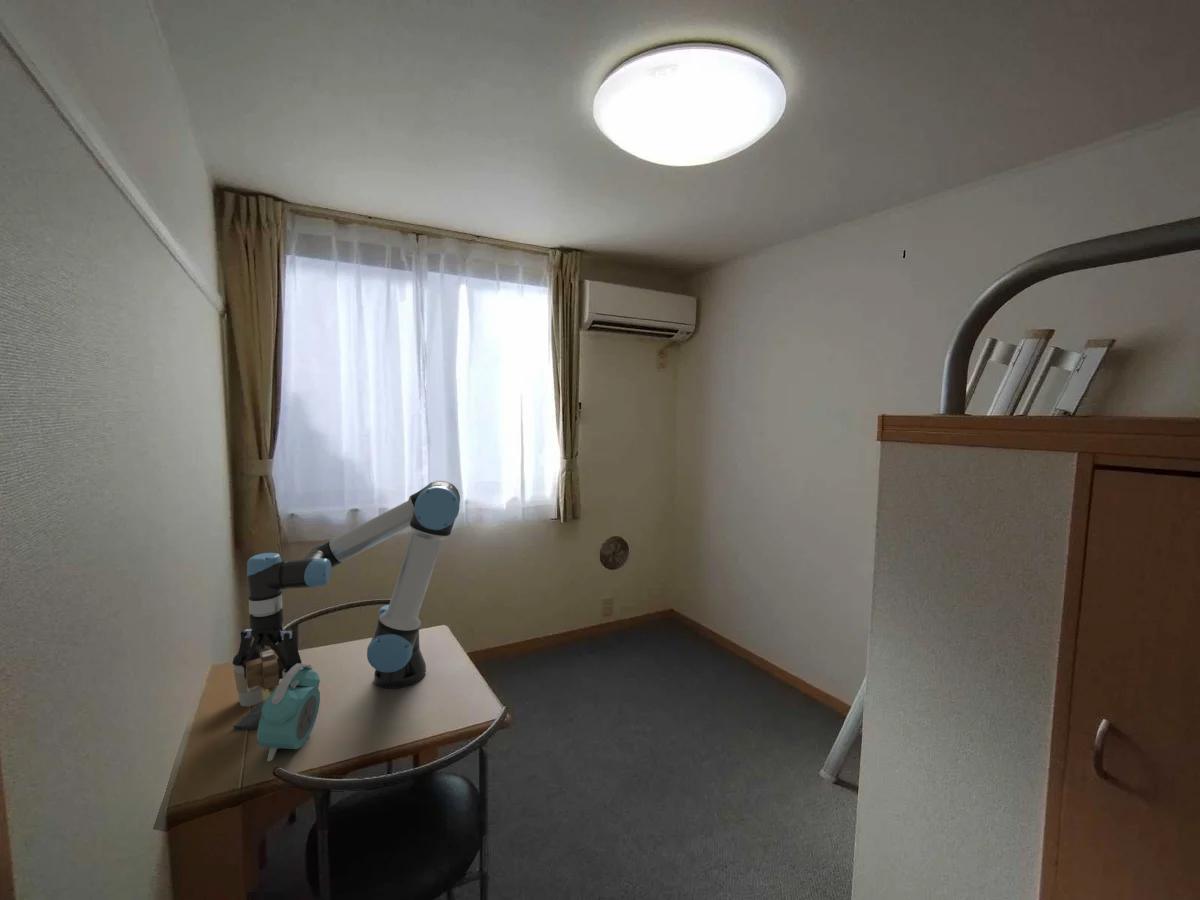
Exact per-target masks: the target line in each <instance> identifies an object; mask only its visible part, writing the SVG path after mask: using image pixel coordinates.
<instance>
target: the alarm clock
mask: <svg viewBox="0 0 1200 900" xmlns="http://www.w3.org/2000/svg"><path fill="white" fill-rule="evenodd" d="M320 682H321V679H320V676H319V673H318V671H315V670H313V667H312V664H307V663H301V664H298V663H297V664H296V665H294V666H293V667H292V668H291V669H290V670H289V671H288V672H287V673H286V675H285V676H284V678H283V679H281V681H279V685H278V688H276V689H275V691H274V692H273V693H272V695H270V696H269V697H268V698H267V699H266V701H265V703H264V705H263V707H262V709H261V711H262V715H261V718H260V721H259V726H258V730H257V731H256V734H257V735H256V739H257V743H258V745H259V747H260V748H269V750H268V755H267V758H266V762H269V761H273V759H275V757H276V754H277V752H278V749H289V750H298V749H300V748H301V747H303V746H304V745H305V744H306V742H307V740H308V739H309V737H310V735H311V733H312V731H313V729H314V727H315V723H316V720H317V717H318V715H319V714H318V713H319V708H320V704H321V703H320V702H321V692H320V690H319V687H320Z"/></svg>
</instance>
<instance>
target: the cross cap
mask: <svg viewBox="0 0 1200 900" xmlns="http://www.w3.org/2000/svg"><path fill="white" fill-rule="evenodd" d="M283 670H285V668H284V666H283V665H282V663H281V661H280V659H279V658H278V656H277V654H276V653H275V651H274V650H272V649H269V650H268V651H264V652H261V653H260V658H259V659H255V660H251V661H248V662H246V676H247V686H248V688H252V687H255V686H258V685H260V686H261V687H263V688H265V689H268V688H272V687H275V686H279V684H280V682H281V681H280V680H282V679H283V675H282V671H283Z"/></svg>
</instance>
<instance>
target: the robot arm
mask: <svg viewBox="0 0 1200 900" xmlns="http://www.w3.org/2000/svg"><path fill="white" fill-rule="evenodd" d="M460 503H461V496H460V492H459V489H457V487H456V486H455V485H454V484H452V482H448V481H446V480H435V481H432V482H430V483H428V484H427V485H425V486H424V487H423V488H421V489H420V490H419V491H417V492H415V493H413V494H411V495H410V496H409V497H408V499H407V500H406V501H404V502H403V503H400V504H398V505H396V506H395V507H393V508H391V509H389V510H387V511H385V512H383V513H382V514H379V515H377V516H376V517H374V518H371V519H370V520H368V521H365V522H364V523H362V524H360V525H358V526H356V527H354V528H352V529H350V530H348V531H346V532H345V533H343V534H340V535H338V536H336V537H334V538H332V539H331V540H330V541H327V542H325V543H322V544H319V545H317V546H315V547H313V548H312V549H311V550H310V551H309V552H308V553H306V554H305V556H303V557H302V558H301V559H295V560H293V559H292V560H282V558H281V555H280V554H279V553H277V552H264V553H259V554H256V555H253V556H251V557H249V559H248V560H247V562H246V563H247V567H246V570H247V571H246V578H247V591H248V613H249V614H250V615H249V627H247V628H246V629H244V630H242V631H240V643H239V648H238V652H239V653H238V652H237V654H238V657H237V662H236V665H237V666H240V665H241V666H242V667H243V668H244V677H245V679H247V676H246V662H248V661H251V660H255V659H256V657H257V655H258V653H259V651H260V649H261V647H262V646H265V647H270V650H274V653H275V654H277V656H278V658H279V659H280V661H281V663H282V665H283V666H284V668H285V670H283V671H282V675H283V678H284V676H285V675H286V673H287V672H288V671H289V670H290V669H291V668H292V667H293V666H294V665H296V664H297V663H298V664H303V662H302V659H301V655H300V653H299V650H298V646H297V643H296V640H295V631H294V629H290V630H284V629H283V623H284V609H282V608H283V590H287V589H301V588H302V589H303V588H305V589H306V588H316V587H323V586H327V585H328V584H329V583H330V581H331V578H332V572H333V571H332V569H333V568H335V567H337V566H338V565H340V564H342V563H344V562H345V561H347V560H349V559H351V558H353V557H355V556H357V555H359V554H361V553H363V552H365V551H367V550H368V549H371V548H373V547H375V546H377V545H379V544H380V543H382V542H384V541H386V540H388V539H391V538H392V537H394V536H395V535H398V534H399V533H401V532H403V531H405V530H407V529H409V528H410V529H411V530H412V533H411V537H410V539H409V543H408V546H407V550H406V552H405V555H404V559H403V562H402V564H401V568H400V570H399V574H398V577H397V580H396V583H395V586H394V589H393V592H392V595H391V598H390V601H389V604H386V605H383V606H381V607H380V608H379V610H378V614H377V617H378V620H377V623H376V625H375V628H374V632H373V635H372V638H371V641H370V642H369V644H368V646H367V649H366V657H367V662H368V664H369V665H370V666H371V667H372V669H374V676H373V677H374V684H375V685H376V686H378V687H380V688H383V689H400V688H405V687H408V686H411V685H413V684H416V683H417V682H419V681H420V680H422V679H423V678H424V677H425V675H426V674H425V672H426V673H427V665H426V661H425V659H424V656H423V654H422V651H421V649H420V629H421V625H422V622H421V620H420V618H419V615H420V610H421V607H422V604H423V602H424V598H425V595H426V592H427V590H428V586H429V583H430V581H431V577H432V575H433V571H434V568H435V566H436V561H437V559H438V556H439V552H440V550H441V547H442V544H443V540H444V539H447V538H448V537H450V535H451V533H452V530H453V527H454V524H455V521H456V519H457V518H458V515H459V512H460ZM252 640H253V641H252ZM250 647H252V648H251V650H250ZM249 650H250V652H249ZM424 674H425V675H424ZM423 676H424V677H423ZM422 677H423V678H422ZM421 678H422V679H421ZM419 679H420V680H419ZM418 680H419V681H418ZM416 681H417V682H416ZM415 682H416V683H415ZM257 687H258V686H255V687H252V688H248V686H247V692H251V691H252V690H254V689H255V688H257Z"/></svg>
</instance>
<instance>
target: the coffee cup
mask: <svg viewBox="0 0 1200 900" xmlns="http://www.w3.org/2000/svg"><path fill="white" fill-rule="evenodd" d="M251 648H252V647H251V646H250V650H251ZM250 650H249V652H250ZM268 650H270V649H269V648H267V647H266V646H262V647H261V649H260V651H259V653H258V655H257V657H256V659H259V658H260V653H261V652H264V651H268ZM238 653H239V651H238V652H237V654H236V655H234V657H233V660H232V665H233V668H234V670H233V674H234V680H235V687H236V691H237V694H238V695H237V696H238V700H239V705H240V706H241V707H251V706H257V705H259V704H260V703H261V702H262V701H263V694H262V687H261V686H260V685H258V687H257V688H255V689H254V690H252V691H251V692H247V679H245V677H244V668H243V667H242V666H241V665H240V666H237V665H236V662H237V657H238Z"/></svg>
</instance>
